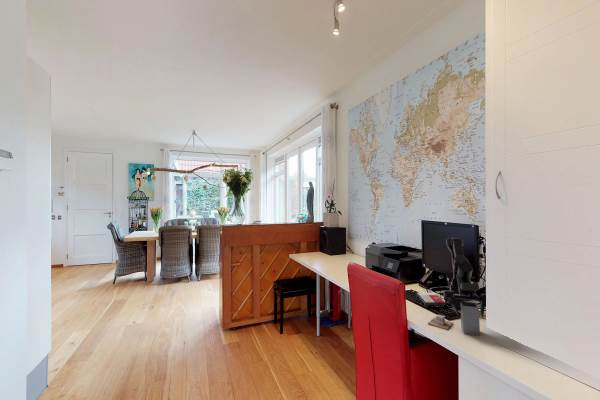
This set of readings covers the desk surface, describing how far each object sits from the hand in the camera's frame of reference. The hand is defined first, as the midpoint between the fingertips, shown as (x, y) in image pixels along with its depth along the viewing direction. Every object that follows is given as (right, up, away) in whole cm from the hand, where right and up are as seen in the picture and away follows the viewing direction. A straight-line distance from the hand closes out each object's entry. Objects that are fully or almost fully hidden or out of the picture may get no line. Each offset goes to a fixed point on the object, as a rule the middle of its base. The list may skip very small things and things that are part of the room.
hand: (470, 315), depth 115 cm
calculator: (0, -9, +36) cm, 37 cm away
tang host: (-8, -8, +9) cm, 15 cm away
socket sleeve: (+1, -7, +1) cm, 7 cm away
